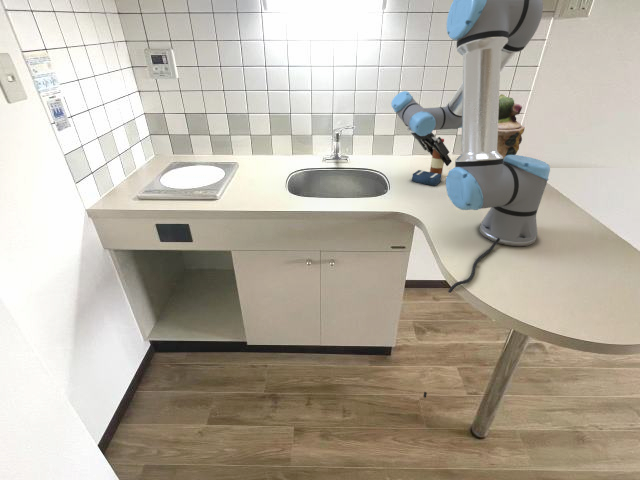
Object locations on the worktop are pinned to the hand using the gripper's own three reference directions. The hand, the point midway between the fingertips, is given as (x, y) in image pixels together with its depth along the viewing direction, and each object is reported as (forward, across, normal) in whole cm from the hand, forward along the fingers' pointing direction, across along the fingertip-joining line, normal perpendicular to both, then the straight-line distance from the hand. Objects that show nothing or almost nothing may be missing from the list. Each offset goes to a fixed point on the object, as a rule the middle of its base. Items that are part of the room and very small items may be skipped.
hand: (444, 161), depth 148 cm
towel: (-3, +2, -12) cm, 13 cm away
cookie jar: (+19, +8, +10) cm, 22 cm away
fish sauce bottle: (+1, 0, -6) cm, 6 cm away
